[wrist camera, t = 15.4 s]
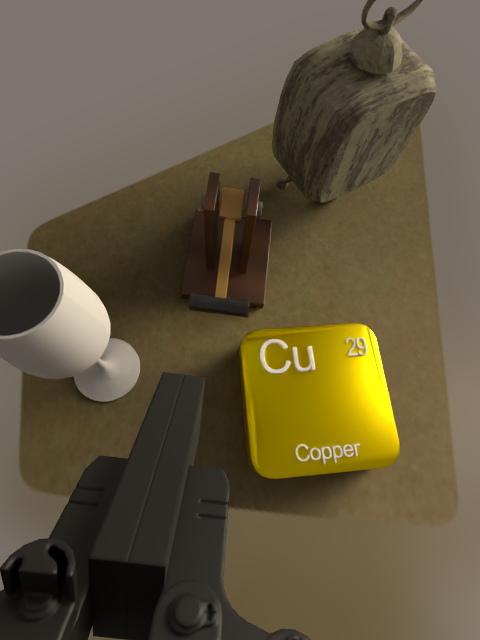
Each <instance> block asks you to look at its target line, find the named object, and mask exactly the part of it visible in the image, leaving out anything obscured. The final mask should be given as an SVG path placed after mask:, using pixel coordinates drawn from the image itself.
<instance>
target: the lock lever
mask: <svg viewBox="0 0 480 640" xmlns="http://www.w3.org/2000/svg"><path fill="white" fill-rule="evenodd" d="M244 195H245V190H244V189H236V188H229V187H222V194H221V202H220V211H219V218H220V221H224V227H223V236H222V244H221V252H220V260H219V268H218V276H217V284H216V292H215V295H208V294H200V293H193V292H192V293H191V295H190V300H189V310H194V311H202V312H209V313H217V314H225V315H233V316H241V317H248V313H249V305H250V300H247V299H239V298H231V297H226V294H227V286H228V278H229V270H230V262H231V254H232V246H233V238H234V231H235V223H241V219H242V211H243V203H244Z"/></svg>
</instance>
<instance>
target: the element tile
mask: <svg viewBox="0 0 480 640" xmlns="http://www.w3.org/2000/svg"><path fill="white" fill-rule="evenodd" d="M238 360H239V371H240V382H241V393H242V404H243V415H244V426H245V437H246V448H247V458H248V462H249V464H250V466H251V468H252V470H253V471H254V472H255V473H257V474H258V475H260V476H263V477H266V478H269V479H282V478H291V477H301V476H311V475H320V474H330V473H340V472H349V471H359V470H369V469H378V468H385V467H388V466H390V465H391V464H393V463H395V461H396V460H397V458H398V457H399V451H400V443H399V438H398V434H397V429H396V425H395V420H394V416H393V411H392V407H391V403H390V398H389V394H388V389H387V385H386V380H385V376H384V371H383V367H382V362H381V358H380V353H379V349H378V344H377V340H376V337H375V335H374V334H373V332H372V331H371V329H369V328H368V327H367V326H365V325H362V324H358V323H348V324H333V325H317V326H302V327H287V328H272V329H258V330H254V331H251V332H249V333H247V334H246V335H245V337H244V338H243V340H242V343H241V346H240V350H239V355H238Z"/></svg>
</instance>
